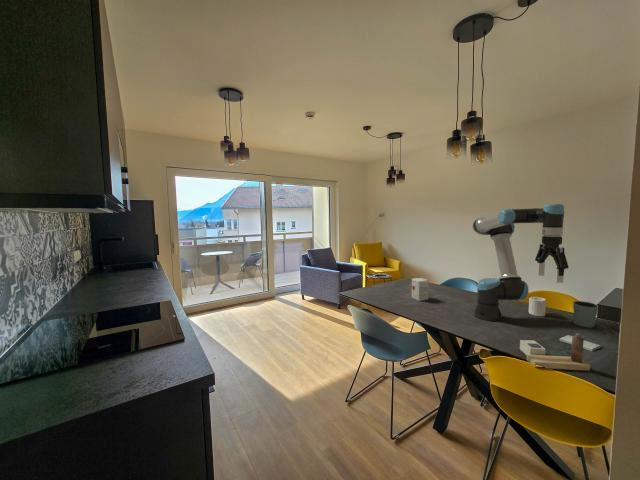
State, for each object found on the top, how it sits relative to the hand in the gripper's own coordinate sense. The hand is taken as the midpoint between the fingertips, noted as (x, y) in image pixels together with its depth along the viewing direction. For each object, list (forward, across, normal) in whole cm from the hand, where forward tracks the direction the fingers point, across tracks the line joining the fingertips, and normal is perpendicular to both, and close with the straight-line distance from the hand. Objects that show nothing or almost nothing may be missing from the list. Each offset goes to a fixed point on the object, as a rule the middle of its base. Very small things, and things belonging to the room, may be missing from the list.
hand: (549, 278), depth 133 cm
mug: (+32, -38, +18) cm, 53 cm away
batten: (+31, +24, -10) cm, 41 cm away
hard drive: (+32, +2, +13) cm, 35 cm away
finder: (+31, +16, -15) cm, 38 cm away
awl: (+29, +24, -3) cm, 38 cm away
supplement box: (+32, -63, -49) cm, 86 cm away
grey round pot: (+32, -22, +32) cm, 50 cm away
